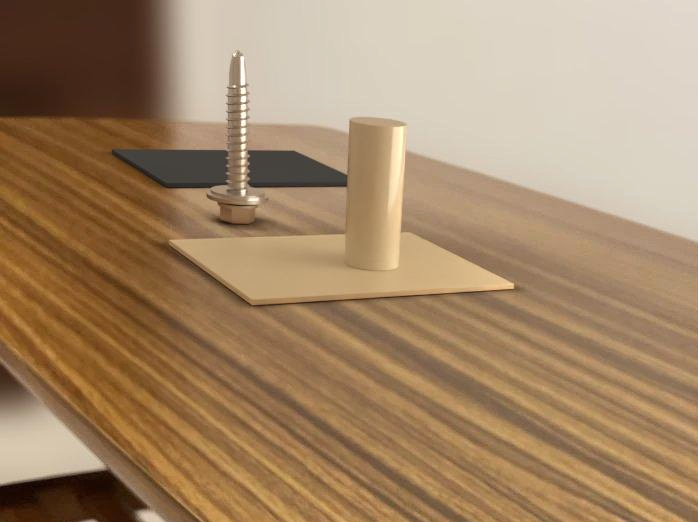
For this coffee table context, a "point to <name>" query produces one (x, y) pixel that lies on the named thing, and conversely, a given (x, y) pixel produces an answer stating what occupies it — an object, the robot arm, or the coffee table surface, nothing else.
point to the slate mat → (212, 168)
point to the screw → (237, 153)
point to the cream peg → (374, 193)
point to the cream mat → (330, 269)
